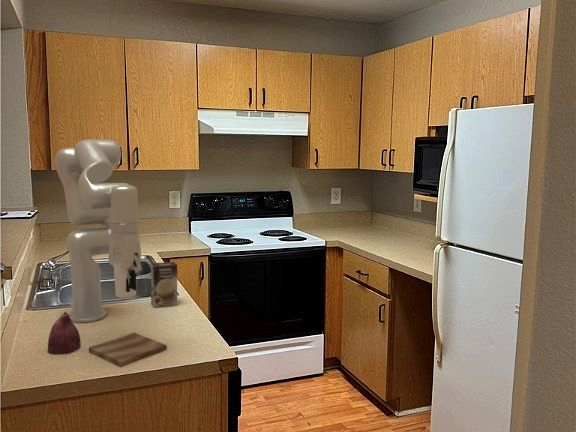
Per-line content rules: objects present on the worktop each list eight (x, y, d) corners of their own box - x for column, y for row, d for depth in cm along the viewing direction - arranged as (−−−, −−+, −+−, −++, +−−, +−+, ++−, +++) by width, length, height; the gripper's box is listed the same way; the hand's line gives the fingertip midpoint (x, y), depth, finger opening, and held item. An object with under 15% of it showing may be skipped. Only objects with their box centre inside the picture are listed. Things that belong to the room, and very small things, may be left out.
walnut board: (88, 352, 153) (88, 347, 153) (134, 337, 166) (134, 332, 165) (120, 366, 143) (120, 361, 143) (166, 349, 156) (166, 344, 156)
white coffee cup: (137, 291, 157) (137, 258, 155) (137, 297, 150) (137, 263, 149) (114, 292, 155) (113, 259, 153) (113, 298, 149) (112, 264, 147)
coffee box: (153, 308, 195) (152, 266, 193) (150, 303, 201) (150, 263, 199) (177, 305, 199) (177, 264, 197) (174, 300, 204) (173, 261, 202)
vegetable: (82, 359, 155) (89, 320, 151) (48, 362, 150) (54, 321, 146) (77, 341, 162) (83, 304, 159) (44, 343, 157) (50, 304, 154)
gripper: (96, 226, 152) (98, 287, 154) (131, 233, 142) (132, 297, 144) (119, 223, 158) (120, 282, 160) (153, 229, 148) (154, 292, 150)
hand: (126, 288), depth 152 cm, fingers closed on white coffee cup, 3 cm apart
